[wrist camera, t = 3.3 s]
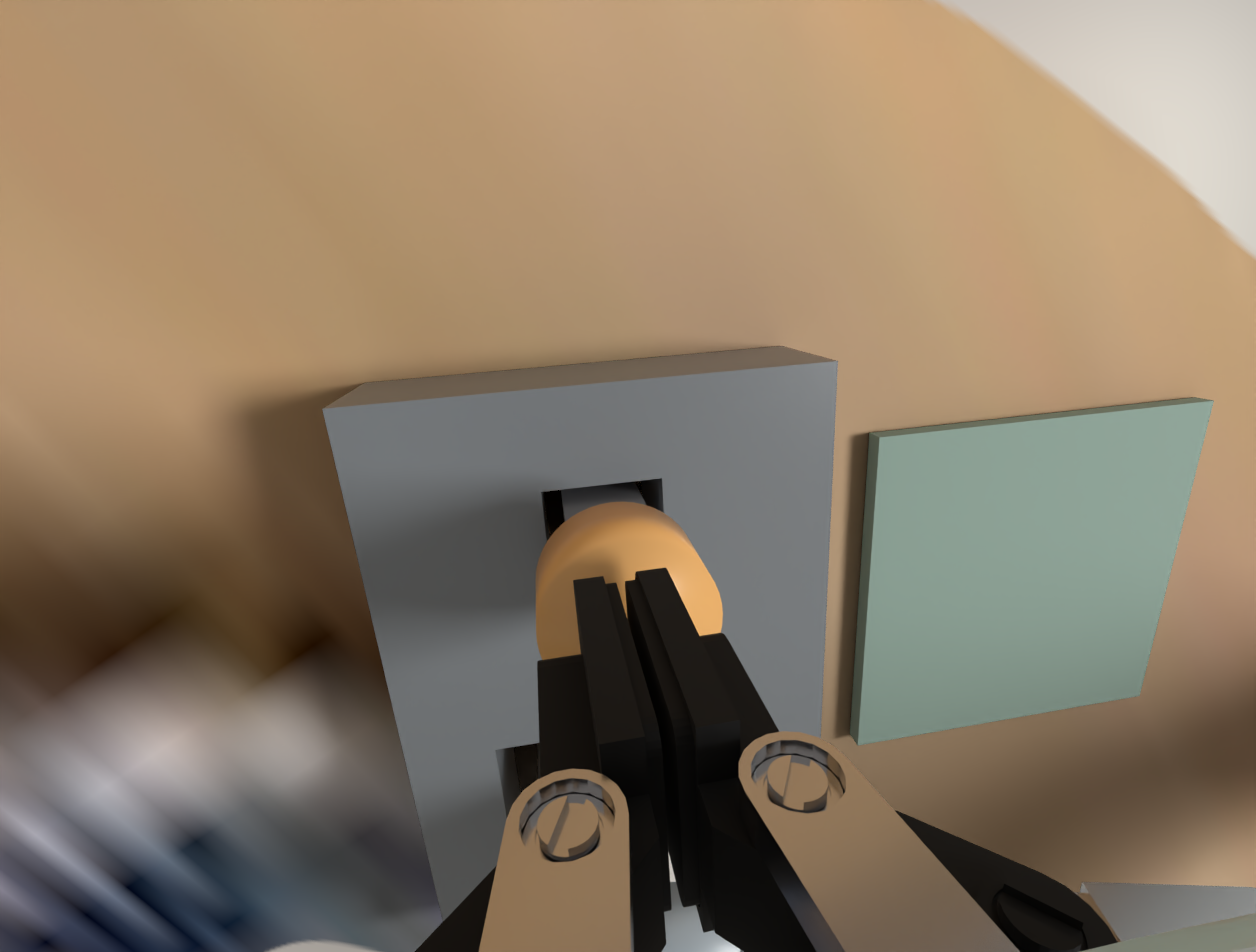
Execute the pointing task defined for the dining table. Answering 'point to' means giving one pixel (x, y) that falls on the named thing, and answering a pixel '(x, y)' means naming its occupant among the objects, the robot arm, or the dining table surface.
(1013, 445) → the mat
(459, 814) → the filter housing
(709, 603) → the release plunger
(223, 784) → the dining table surface
